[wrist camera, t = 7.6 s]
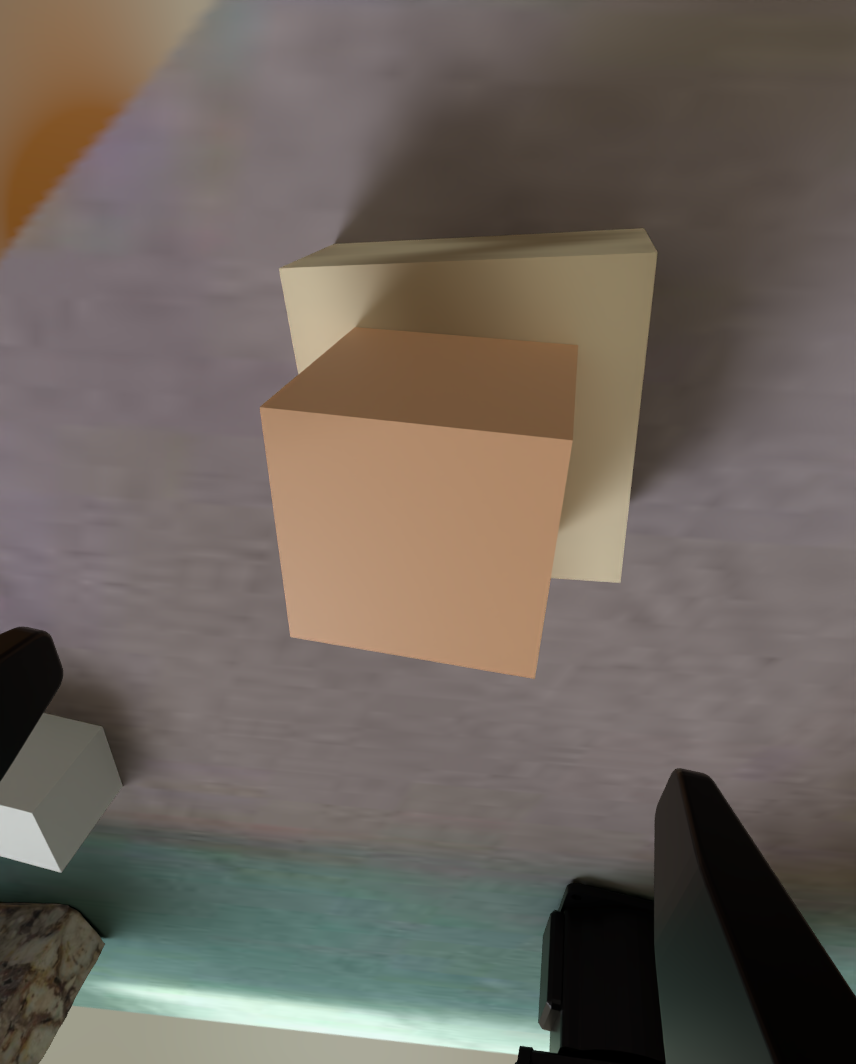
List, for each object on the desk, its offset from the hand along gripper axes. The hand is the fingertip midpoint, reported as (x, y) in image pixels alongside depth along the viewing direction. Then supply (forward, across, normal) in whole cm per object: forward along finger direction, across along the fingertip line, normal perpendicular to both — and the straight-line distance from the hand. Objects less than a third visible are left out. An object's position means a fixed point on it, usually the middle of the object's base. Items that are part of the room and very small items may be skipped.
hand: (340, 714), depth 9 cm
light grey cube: (+12, +20, +22) cm, 32 cm away
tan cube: (+8, 0, -1) cm, 8 cm away
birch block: (+12, 0, -1) cm, 12 cm away
